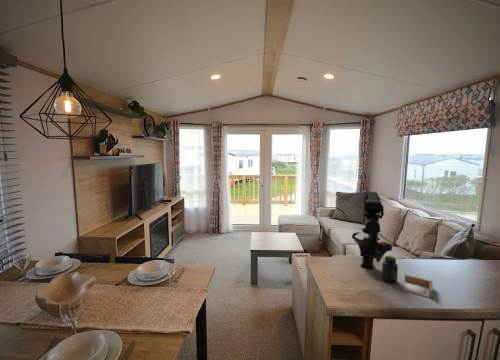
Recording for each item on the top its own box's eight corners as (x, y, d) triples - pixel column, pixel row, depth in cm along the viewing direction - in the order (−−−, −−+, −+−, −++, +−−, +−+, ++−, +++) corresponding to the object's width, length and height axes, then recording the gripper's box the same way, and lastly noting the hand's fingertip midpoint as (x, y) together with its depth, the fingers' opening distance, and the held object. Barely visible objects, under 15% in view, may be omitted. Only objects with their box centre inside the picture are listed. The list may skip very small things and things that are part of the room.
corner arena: (404, 280, 123) (405, 274, 123) (431, 288, 116) (432, 281, 116) (403, 290, 114) (403, 283, 114) (432, 298, 108) (433, 291, 107)
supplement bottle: (396, 279, 125) (397, 256, 123) (397, 285, 118) (399, 261, 117) (381, 276, 128) (382, 254, 126) (381, 282, 121) (383, 259, 120)
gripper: (344, 223, 121) (342, 253, 123) (375, 235, 104) (373, 269, 106) (361, 221, 125) (359, 250, 127) (394, 232, 108) (391, 265, 110)
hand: (369, 258), depth 117 cm, fingers open, 9 cm apart
